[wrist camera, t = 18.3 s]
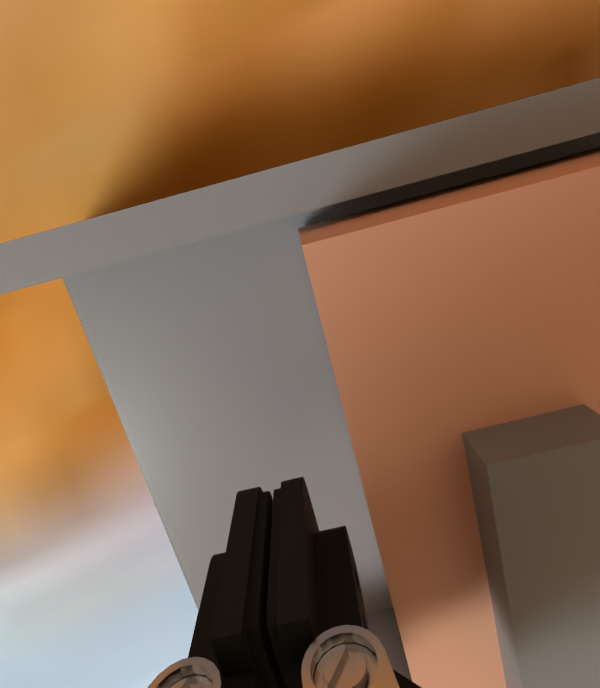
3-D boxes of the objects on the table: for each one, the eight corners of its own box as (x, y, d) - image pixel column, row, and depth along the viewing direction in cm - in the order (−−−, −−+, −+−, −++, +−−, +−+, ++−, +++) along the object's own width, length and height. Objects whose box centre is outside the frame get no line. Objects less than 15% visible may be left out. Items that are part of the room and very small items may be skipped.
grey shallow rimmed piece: (747, 51, 13) (977, -28, 9) (739, 519, 17) (887, 623, 13) (72, 237, 14) (-26, 250, 10) (226, 630, 18) (206, 759, 14)
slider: (633, 138, 12) (1075, 47, 5) (652, 547, 16) (925, 804, 9) (297, 228, 12) (303, 252, 6) (392, 603, 16) (463, 886, 9)
